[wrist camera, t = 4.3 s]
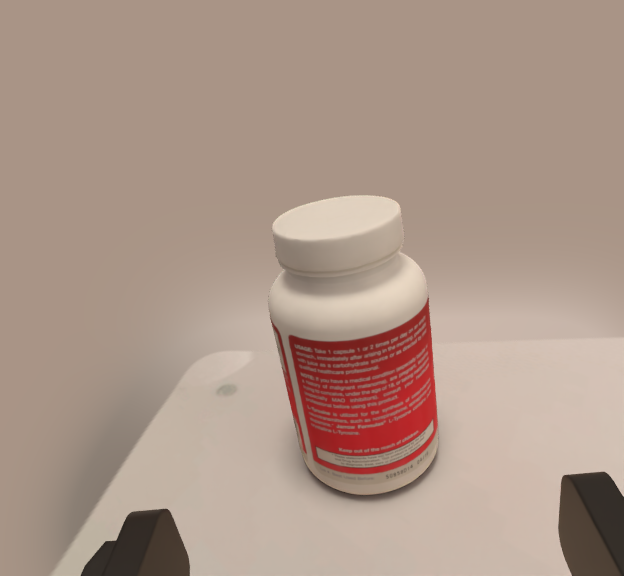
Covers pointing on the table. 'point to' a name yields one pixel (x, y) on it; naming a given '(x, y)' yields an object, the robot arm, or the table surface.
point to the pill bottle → (355, 343)
